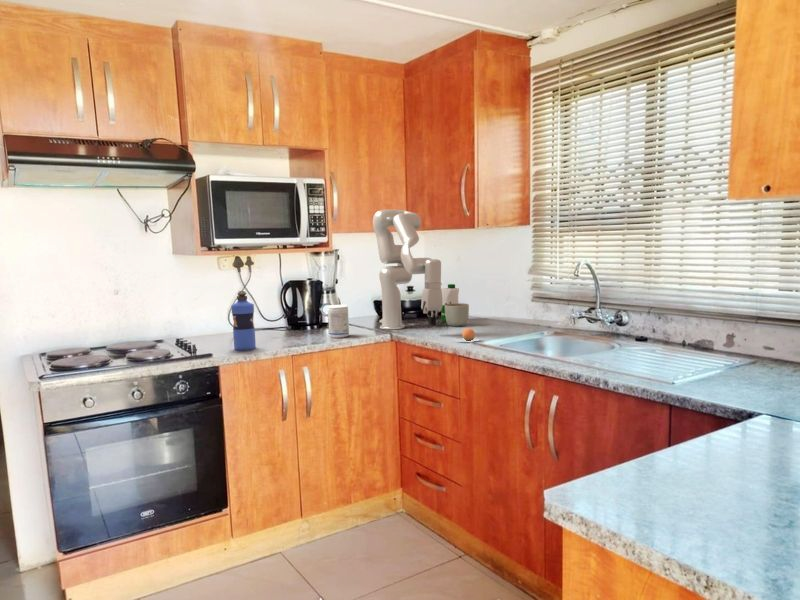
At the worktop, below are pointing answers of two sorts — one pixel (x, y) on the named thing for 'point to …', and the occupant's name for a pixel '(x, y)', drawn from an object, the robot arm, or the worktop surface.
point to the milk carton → (449, 298)
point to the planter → (456, 314)
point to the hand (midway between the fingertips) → (432, 324)
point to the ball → (468, 334)
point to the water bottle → (243, 323)
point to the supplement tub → (338, 321)
